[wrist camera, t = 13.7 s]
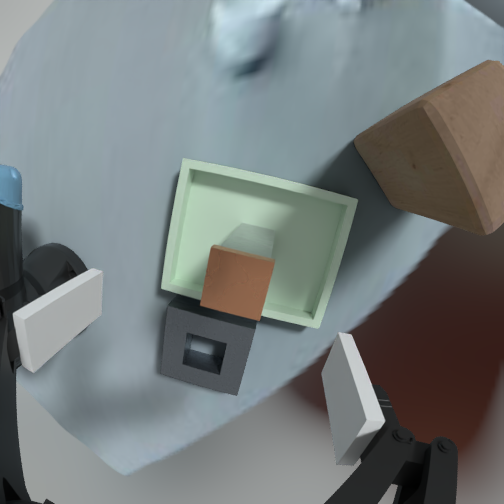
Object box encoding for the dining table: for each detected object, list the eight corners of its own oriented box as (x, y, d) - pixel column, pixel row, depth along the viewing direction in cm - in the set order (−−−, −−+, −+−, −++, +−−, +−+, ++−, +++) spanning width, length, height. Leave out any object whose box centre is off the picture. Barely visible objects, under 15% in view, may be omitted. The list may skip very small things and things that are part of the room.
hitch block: (169, 358, 43) (160, 373, 39) (178, 294, 40) (167, 305, 36) (240, 379, 42) (236, 395, 38) (258, 315, 39) (255, 329, 35)
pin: (232, 256, 37) (199, 305, 22) (240, 219, 36) (210, 247, 21) (269, 265, 37) (259, 320, 22) (278, 228, 36) (274, 263, 21)
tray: (169, 281, 40) (160, 288, 37) (190, 159, 36) (183, 158, 33) (316, 318, 39) (318, 328, 36) (352, 197, 35) (358, 199, 32)
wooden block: (348, 141, 33) (417, 102, 14) (407, 103, 31) (500, 52, 12) (392, 210, 34) (487, 244, 15) (447, 170, 32) (556, 173, 13)
